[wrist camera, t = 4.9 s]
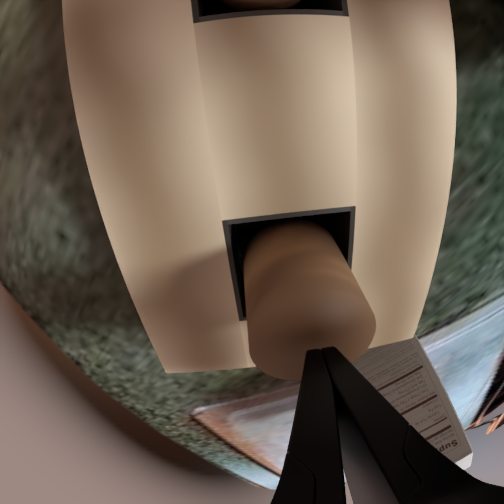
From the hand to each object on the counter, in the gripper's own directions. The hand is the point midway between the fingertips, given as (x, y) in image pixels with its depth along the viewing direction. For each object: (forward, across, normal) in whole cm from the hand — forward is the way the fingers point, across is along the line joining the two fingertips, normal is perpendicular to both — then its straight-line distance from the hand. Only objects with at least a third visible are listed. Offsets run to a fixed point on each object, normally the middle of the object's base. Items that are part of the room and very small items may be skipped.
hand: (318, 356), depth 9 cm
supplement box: (+10, -8, +14) cm, 19 cm away
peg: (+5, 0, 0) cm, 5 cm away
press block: (+10, 0, -6) cm, 11 cm away
